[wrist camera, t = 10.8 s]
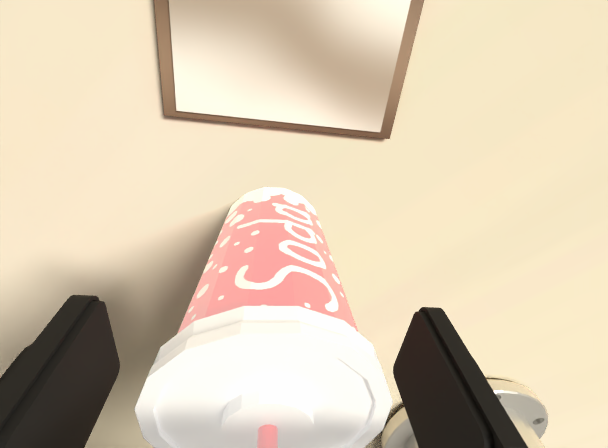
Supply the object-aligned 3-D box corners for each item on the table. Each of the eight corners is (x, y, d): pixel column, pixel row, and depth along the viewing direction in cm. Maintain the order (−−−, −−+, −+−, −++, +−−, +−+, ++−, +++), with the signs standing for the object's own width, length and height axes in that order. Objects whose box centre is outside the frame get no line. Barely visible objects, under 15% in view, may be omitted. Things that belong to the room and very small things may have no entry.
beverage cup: (361, 217, 16) (653, 840, 3) (286, 297, 18) (305, 850, 6) (254, 142, 13) (48, 1102, 1) (184, 243, 16) (-140, 954, 3)
